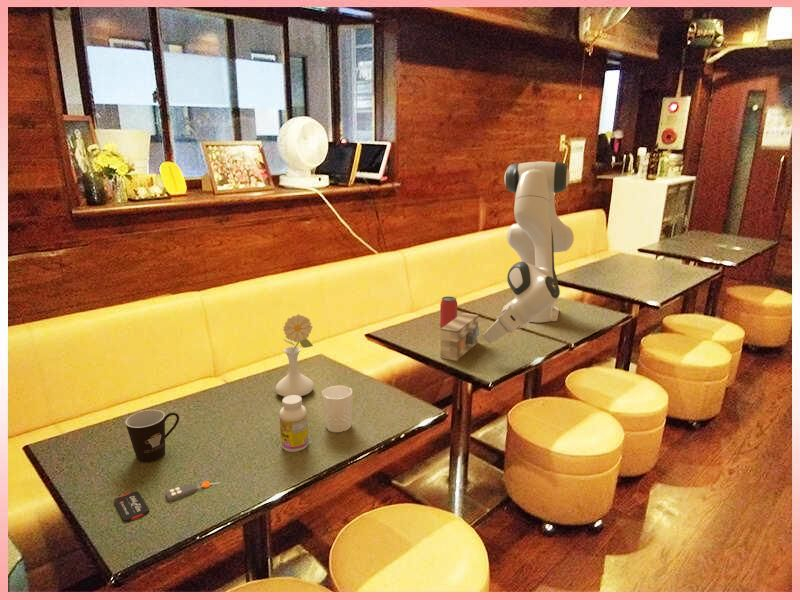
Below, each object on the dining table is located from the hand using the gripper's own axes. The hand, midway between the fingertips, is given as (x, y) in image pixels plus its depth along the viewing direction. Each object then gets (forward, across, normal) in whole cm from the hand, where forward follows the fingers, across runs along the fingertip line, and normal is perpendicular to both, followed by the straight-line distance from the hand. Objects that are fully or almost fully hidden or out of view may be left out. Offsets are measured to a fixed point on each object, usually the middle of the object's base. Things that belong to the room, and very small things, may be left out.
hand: (486, 337), depth 187 cm
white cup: (+18, +60, -8) cm, 63 cm away
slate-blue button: (+10, -10, -3) cm, 15 cm away
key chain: (+26, +97, -16) cm, 102 cm away
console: (+14, -4, -2) cm, 15 cm away
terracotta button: (+10, +3, -3) cm, 10 cm away
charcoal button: (+9, -4, -2) cm, 10 cm away
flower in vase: (+33, +50, -23) cm, 65 cm away
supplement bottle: (+20, +73, -11) cm, 77 cm away
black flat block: (+30, +108, -22) cm, 115 cm away
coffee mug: (+39, +92, -30) cm, 105 cm away
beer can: (+24, -23, -11) cm, 34 cm away
